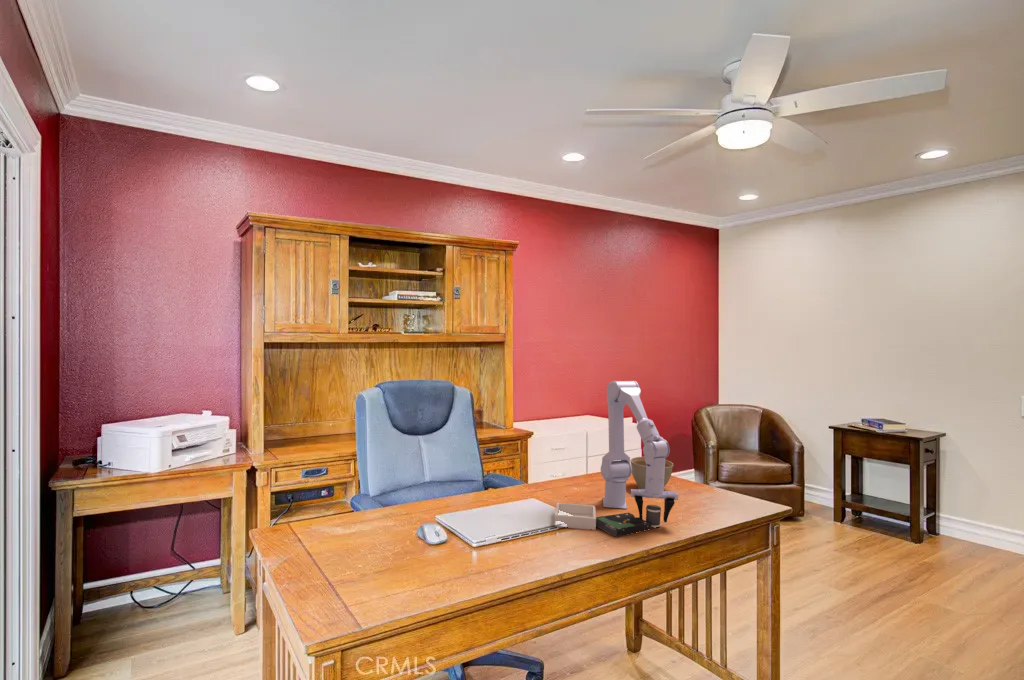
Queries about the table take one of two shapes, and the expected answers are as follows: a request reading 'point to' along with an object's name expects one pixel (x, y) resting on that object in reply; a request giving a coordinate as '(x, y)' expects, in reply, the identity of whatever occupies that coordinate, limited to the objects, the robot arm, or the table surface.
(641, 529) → the disk drive
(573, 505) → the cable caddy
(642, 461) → the planter bowl
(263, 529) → the table surface
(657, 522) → the dark grey spool
